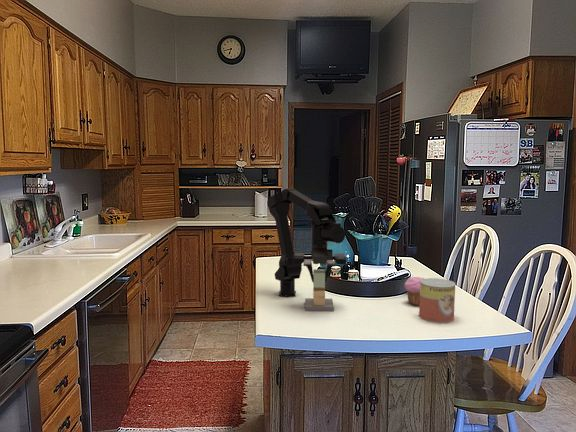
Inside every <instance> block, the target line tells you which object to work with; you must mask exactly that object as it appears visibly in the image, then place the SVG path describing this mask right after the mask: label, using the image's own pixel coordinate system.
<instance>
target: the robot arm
mask: <svg viewBox="0 0 576 432" xmlns="http://www.w3.org/2000/svg"><path fill="white" fill-rule="evenodd" d="M266 203H267V204H266V205H267V207H268V211H269V213H270V215H271V216H272V217H273V218H274V220H275V226H276V232H277V238H278V243H279V249H280V254H281V255H280V257H279V260H278V269H277V270H276V272H274V279H275V280H277V281H279V284H280V285H279V286H280V287H279V292H278V297H296V295H297V291H296V290H295V289H296V288H295V287H296V286H295V285H296V283H295V280H297V279H300V277H301V273H302V270H303V266H304V267H306V268H307V270H308V272H309V273H308V274H309V275H310V280H311V282H312V283H313V282H314V277H313V264H314V265H317V264H319V265H325V269H324V270H325V284H326V283H327V280H328V277H329V274H330V272H331V270H332V268H333V267H336V264H337V265H347V256H346V254H345V253H333V249H328V243H329V242H330V243H333V244H334V243H336V244H341V243H342V242H343V241H344V240H345V239H346V232H345V229H344V227H342V223H341V222H337V220H336V217H335V216H334V214H333V211H332V209H331V206H330V205H329V204H328V203H325V202H322V201H316V200H313V199H311V198H309V197H308V196H306V195H305V194H303V193H302V192H299V191H298V190H297V189H296V188H284V189H282V190H281V191H279V192H277V193H275V194H273V195H270V196H269V198H268V200H267V202H266ZM292 204H294V205H295V206H297V207H298V208H300V209H302V210H303V211H304V212H305V215H306V216H307V217H308V218H309V219H310V221H309V222H308V223H307V226H308V227H310V226H311V233H310V234H311V239H310V240H311V241H310V242H311V244H310V246H311V249H310V254H311V255H305V252H304V253H303V252H299V253H298V252H295V251H294V246H293V239H292V235H291V234H292V233H291V228H290V224H289V219H288V216H289V213H290V210H291V205H292ZM333 254H334V255H333Z"/></svg>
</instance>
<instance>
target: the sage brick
mask: <svg viewBox="0 0 576 432" xmlns="http://www.w3.org/2000/svg"><path fill="white" fill-rule="evenodd" d="M312 269H313V268H312ZM325 270H326V269H321V268H319V269H318V268H317V269H315V268H314V269H313V277H314V282H312V283H313V284H312V285H313V287H324V288H326V283H325Z"/></svg>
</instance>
